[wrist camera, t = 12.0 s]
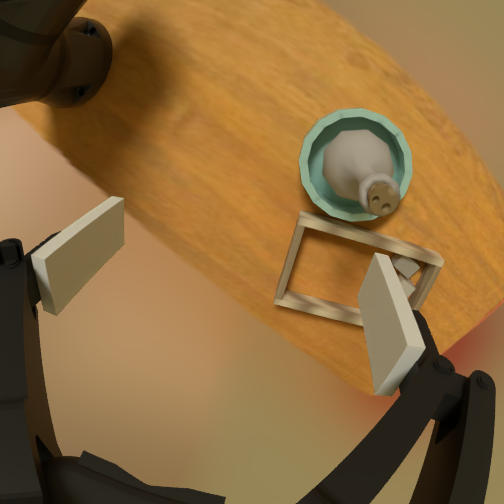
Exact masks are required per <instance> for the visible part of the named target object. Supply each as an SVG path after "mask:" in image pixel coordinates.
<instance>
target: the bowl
mask: <svg viewBox="0 0 504 504" xmlns="http://www.w3.org/2000/svg"><path fill="white" fill-rule="evenodd" d="M367 129H368V130H369V131H370V132H372V133H373V134H374V135H376V136H377V137H378V138H380V139H381V140H382V141H384V142H385V143H386V144H388V146H389V150H390V154H391V159H392V163H393V167H394V174H393V176H392V179H393V180H395V181H396V182H397V183H398V185H399V190H400V195H401V199H402V198H403V197H404V195H405V194H406V191H407V188H408V186H409V183H410V180H411V177H412V155H411V150H410V148H409V146H408V144H407V142H406V139H405V137H404V135H403V133H402V131H401V130H400V129H398V128H397V127H396V126H395V125H394V124H393V123H392V122H391V121H390V120H389V119H387V118H386V117H385V116H383V115H381V114H378V113H375V112H372V111H369V110H366V109H363V108H347V109H336V110H334V111H333V112H331V113H329V114H327V115H325V116H323V117H321V118H319V119H318V120H317V121H316V122H315V124H314V125H313V126H312V127H311V129H310V130H309V131H308V132H307V134H306V135H305V137H304V141H303V145H302V148H301V152H300V156H299V166H300V172H301V180H302V184H303V186H304V187H305V189H306V191H307V192H308V194H309V196H310V198H311V199H312V201H313V202H314V203H315V204H316V205H317V206H319V207H320V208H321V209H323V210H324V211H325V212H326V213H328V214H329V215H330V216H333V217H337V218H340V219H344V220H347V221H350V222H354V221H365V220H373V219H375V218H377V217H378V216H374V215H371V214H367V213H366V212H365V210H364V209H363V207H362V206H361V204H360V203H359V201H355V200H352V199H348V198H344V197H341V196H338V195H337V194H336V193H335V191H334V190H333V189H332V187H331V186H330V185H329V183H328V182H327V180H326V179H325V178H324V176H323V175H322V171H323V155H324V149H325V148H326V147H327V146H328V145H329V144H330V143H331V142H332V141H333V140H334V139H335V138H336V137H337V135H338V134H339V133H340V132H341V131H351V130H367ZM401 199H400V200H401Z"/></svg>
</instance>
